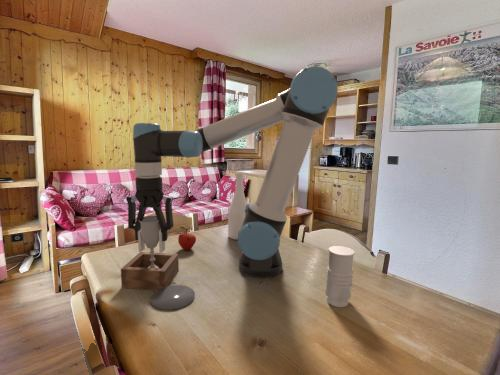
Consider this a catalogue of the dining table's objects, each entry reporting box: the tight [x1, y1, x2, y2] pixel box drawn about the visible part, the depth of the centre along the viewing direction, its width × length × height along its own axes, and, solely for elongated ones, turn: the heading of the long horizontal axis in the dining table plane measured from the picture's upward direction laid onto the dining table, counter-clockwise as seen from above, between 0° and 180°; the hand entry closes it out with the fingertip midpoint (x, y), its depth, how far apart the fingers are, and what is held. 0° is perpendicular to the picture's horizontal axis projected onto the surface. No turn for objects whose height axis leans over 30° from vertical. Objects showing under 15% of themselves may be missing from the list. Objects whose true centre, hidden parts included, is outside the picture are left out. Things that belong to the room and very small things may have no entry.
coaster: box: [149, 284, 196, 311], centre depth 80 cm, size 12×12×1 cm
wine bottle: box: [227, 171, 248, 241], centre depth 129 cm, size 10×10×30 cm
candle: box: [325, 245, 355, 308], centre depth 79 cm, size 7×7×15 cm
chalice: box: [139, 215, 161, 268], centre depth 88 cm, size 7×7×18 cm
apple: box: [176, 226, 197, 251], centre depth 114 cm, size 8×7×10 cm
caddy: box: [120, 251, 179, 291], centre depth 90 cm, size 13×13×6 cm
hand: (152, 250), depth 89 cm, fingers closed on chalice, 6 cm apart
